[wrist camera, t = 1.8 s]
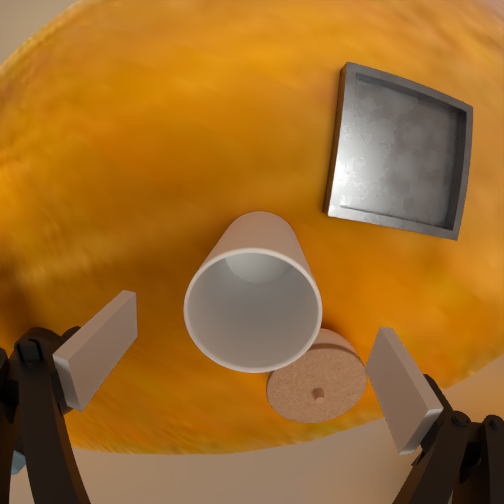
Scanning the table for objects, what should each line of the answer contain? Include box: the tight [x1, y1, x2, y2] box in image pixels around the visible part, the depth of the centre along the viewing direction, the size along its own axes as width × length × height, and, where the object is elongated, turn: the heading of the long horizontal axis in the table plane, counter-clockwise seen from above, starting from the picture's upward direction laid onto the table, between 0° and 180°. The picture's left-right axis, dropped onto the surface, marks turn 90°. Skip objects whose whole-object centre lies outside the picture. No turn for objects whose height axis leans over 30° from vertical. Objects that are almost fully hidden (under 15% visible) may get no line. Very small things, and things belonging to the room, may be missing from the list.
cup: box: [184, 211, 322, 373], centre depth 25 cm, size 8×8×16 cm
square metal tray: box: [322, 62, 473, 241], centre depth 27 cm, size 16×16×3 cm
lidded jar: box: [266, 328, 367, 423], centre depth 31 cm, size 11×11×9 cm
